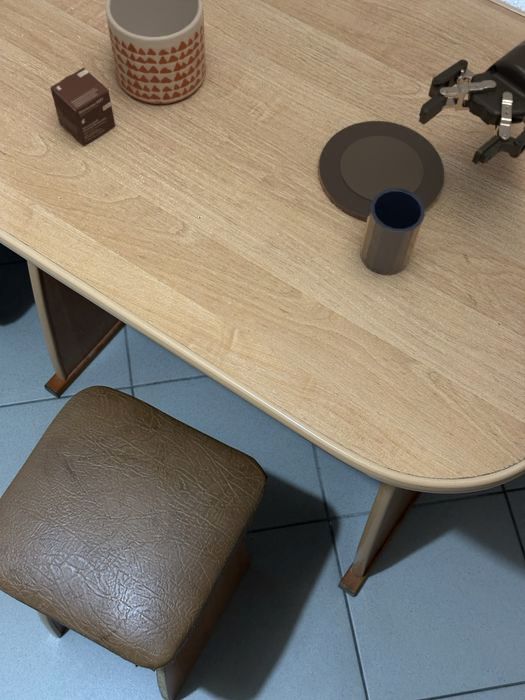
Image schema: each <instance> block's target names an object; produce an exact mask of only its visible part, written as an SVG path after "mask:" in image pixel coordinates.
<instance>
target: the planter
mask: <svg viewBox="0 0 525 700" xmlns="http://www.w3.org/2000/svg"><path fill="white" fill-rule="evenodd" d="M104 7H105V9H104V10H105V16H106V23H107V28H108V34H109V35H108V36H109V41H110V47H111V52H112V53H111V54H112V59H113V64H114V70H115V76H116V80H117V82H118V84H119V86H120V87H121V89H122V90H123V91H124V92H125V93H126V94H127V95H129V96H130V97H132V98H134V99H135V100H137V101H140V102H143V103H147V104H150V105H151V104H152V105H169V104H173V103H177V102H181V101H183V100H185V99H187V98H189V97H190V96H191V95H193V94H194V93H196V92H197V90H198V89H199V88H200V87H201V86H202V84H203V82H204V80H205V76H206V69H207V66H206V65H207V64H206V44H205V43H206V42H205V16H204V12H205V11H204V1H203V0H105V4H104Z"/></svg>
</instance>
